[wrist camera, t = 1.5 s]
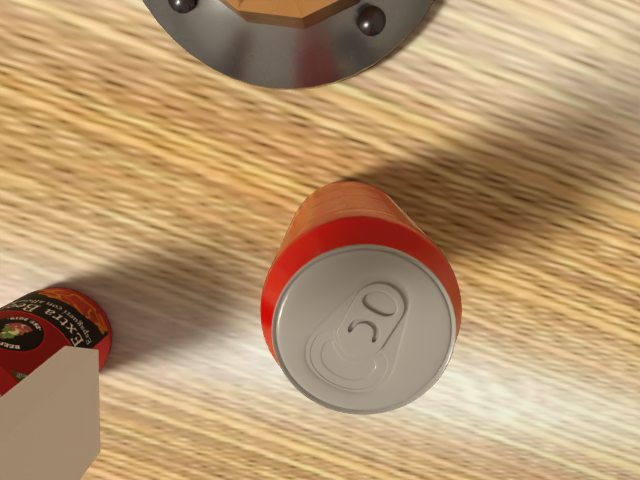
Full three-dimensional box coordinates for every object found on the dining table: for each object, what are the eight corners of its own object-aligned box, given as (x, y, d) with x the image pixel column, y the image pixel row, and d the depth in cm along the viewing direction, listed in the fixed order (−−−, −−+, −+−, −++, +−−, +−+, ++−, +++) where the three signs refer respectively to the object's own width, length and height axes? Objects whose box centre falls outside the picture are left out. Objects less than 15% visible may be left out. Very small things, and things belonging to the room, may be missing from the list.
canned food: (130, 311, 31) (26, 403, 20) (95, 396, 33) (-19, 521, 22) (31, 265, 30) (-131, 336, 20) (0, 354, 32) (-164, 463, 22)
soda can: (425, 211, 29) (522, 290, 14) (370, 307, 30) (406, 464, 16) (322, 158, 28) (313, 183, 14) (272, 259, 30) (216, 378, 15)
